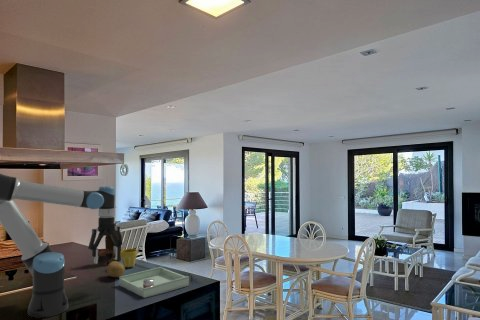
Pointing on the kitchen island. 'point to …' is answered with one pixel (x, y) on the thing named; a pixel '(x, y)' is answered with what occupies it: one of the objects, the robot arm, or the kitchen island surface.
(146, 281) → the tin
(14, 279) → the kitchen island surface
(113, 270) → the potato
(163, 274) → the tray
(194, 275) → the kitchen island surface
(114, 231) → the olive oil
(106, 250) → the pottery mug
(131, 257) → the plant pot
